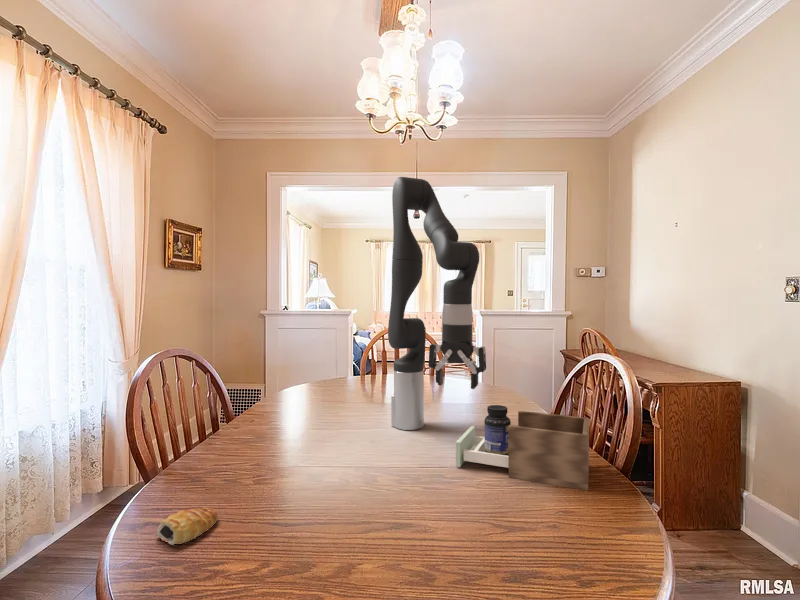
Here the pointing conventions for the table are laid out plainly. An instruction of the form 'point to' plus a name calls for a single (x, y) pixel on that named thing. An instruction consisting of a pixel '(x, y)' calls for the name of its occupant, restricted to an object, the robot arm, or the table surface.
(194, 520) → the pastry
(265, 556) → the table surface
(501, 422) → the pill bottle
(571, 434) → the caddy
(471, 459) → the drawer
